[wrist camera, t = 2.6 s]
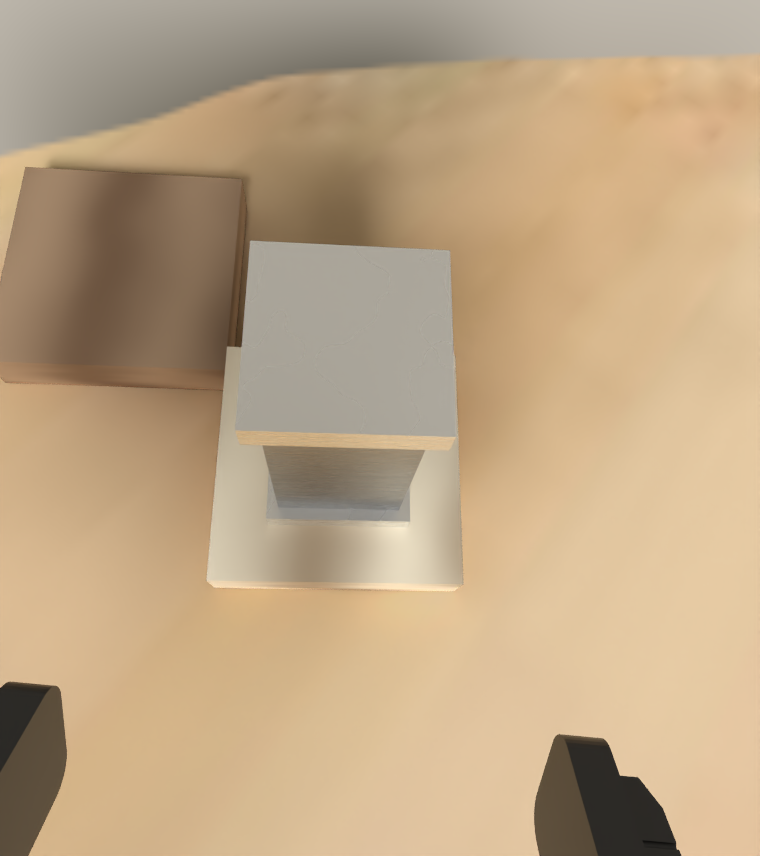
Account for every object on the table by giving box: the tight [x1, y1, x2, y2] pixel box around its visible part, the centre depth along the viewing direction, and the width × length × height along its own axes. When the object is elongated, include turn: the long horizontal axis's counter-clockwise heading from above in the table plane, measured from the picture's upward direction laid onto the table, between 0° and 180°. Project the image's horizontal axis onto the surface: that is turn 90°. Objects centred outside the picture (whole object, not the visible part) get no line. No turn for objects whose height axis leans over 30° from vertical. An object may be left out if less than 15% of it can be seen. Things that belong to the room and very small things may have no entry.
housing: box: [235, 241, 456, 528], centre depth 21 cm, size 5×5×10 cm
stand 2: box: [206, 347, 463, 591], centre depth 27 cm, size 9×9×2 cm
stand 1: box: [0, 167, 247, 390], centre depth 29 cm, size 9×9×2 cm
